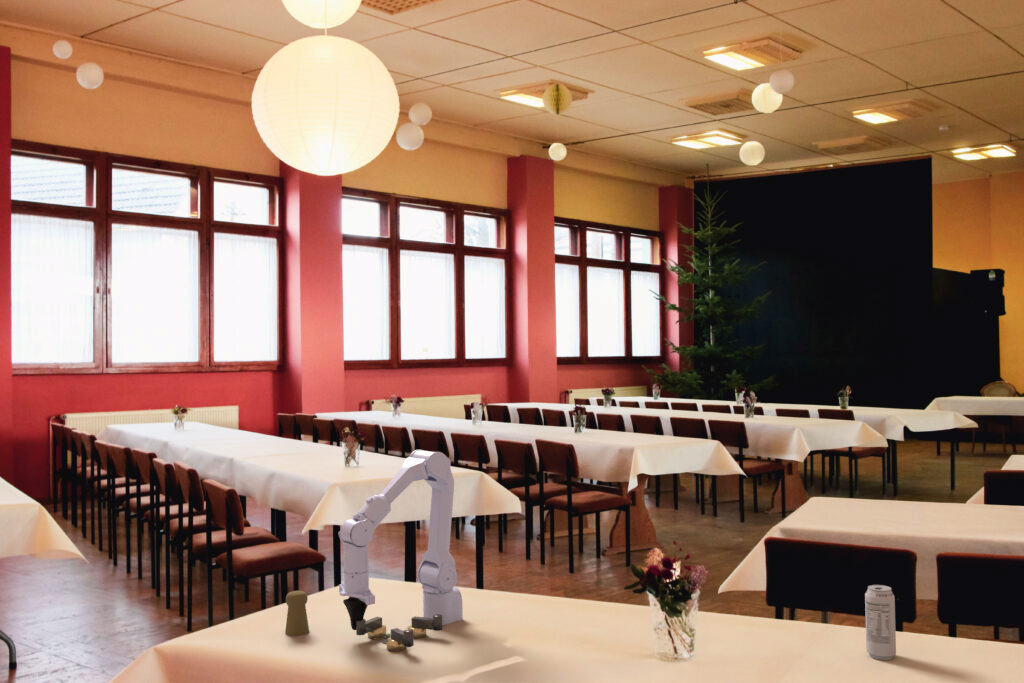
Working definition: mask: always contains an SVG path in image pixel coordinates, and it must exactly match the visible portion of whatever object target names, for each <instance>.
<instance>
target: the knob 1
mask: <svg viewBox="0 0 1024 683" xmlns="http://www.w3.org/2000/svg"><path fill="white" fill-rule="evenodd" d="M366 634H367V638H369V639H381V638H382V637H384V636H386V635H387V626H386V625H385V624H383V617H381V616H375V617H373V618H369V619H367V620H366V619H365V618H363V619H357V620H356V630H355V635H356V636H364V635H366Z"/></svg>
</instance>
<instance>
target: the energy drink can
mask: <svg viewBox="0 0 1024 683" xmlns="http://www.w3.org/2000/svg"><path fill="white" fill-rule="evenodd" d="M895 600H896V599H895V595H894V593H893V591H892V587H890V586H887V585H884V584H872V585H871V584H870V585H868V586H867V590H866V591H865V593H864V604H865V608H864V611H865V642H866V643H865V646H866V648H865V650H866V653H868V656H869V657H870V658H872V659H875V660H878V661H879V660H880V661H889V660H892V659H894V656H896V654H897V640H896V635H897V634H896V605H895V604H896V602H895Z"/></svg>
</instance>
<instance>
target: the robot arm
mask: <svg viewBox="0 0 1024 683" xmlns="http://www.w3.org/2000/svg"><path fill="white" fill-rule="evenodd" d="M451 464H452V463H451V459H449V457H448V456H447V455H446V454H444V453H443V452H441V451H429V450H424V449H421V448H420V449H415V450H413V451H412V452H411V453H410V455H409V456H408V457H406V458H405V459H404V462H403V464H402V466H401V468H400V469H399V470H398V471H397V473H396V474H395V475H394V476H393V478H392V479H391V480H390V482H389V483H388V484H387V485H386V486H385V488H384V489H383V490H382V491H381V493H380V494H374V495H373V494H372V496H368V497H367V498H366V499H365V503H364V505H363V506H362V507H361V508H360V509H359V510H358V511H357V512H355V513H354V514H353V515H352V518H349V519H347V520H345V521H344V522H343V523H342V524H341V526H340V527H341V528H340V531H338V533H337V534H338V537H339V539H340V541H341V542H342V544H343V546H342V547H343V581H344V582H343V583H340V584H338V590H339V591H338V592H339V595H340V596H342V597H348V598H345V599H343V602H342V603H343V605H344V606H345V608H346V611H347V613H348V614H349V621H350V627H351V629H352V630H353V631H356V620H357V619H364V616H365V613H366V610H367V608H368V606H371V605H375V604H376V595H375V594H373V593H372V590H371V588H370V582H369V581H370V576H369V574H370V571H369V568H370V567H369V543H371V542H372V540H373V537H374V532H375V530H376V528H377V527H378V526H379V525H380V524H381V523H382V522H383V521H384V519H385V518H386V517H387V516H388V515H389V513H390V512H391V511H392V509H391V508H392V507H391V506H392V503H393V502H394V501H395V500H396V499H397V498H398V497H399V496H400V495H401V494H403V492H405V490H406V489H407V488H408V487H409V486H410V485H412V483H413V482H417V481H423V480H424V481H425V483H427V484H428V485H429V486H430V487H431V498H430V499H431V500H430V513H429V524H428V525H429V527H428V541H427V550H426V551H425V552H424V553H423V554H422V556H421V560H420V561H421V562H420V565H419V566H418V569H417V571H416V572H417V573H416V575H417V580H418V582H419V583H420V584H421V589H422V594H423V595H422V599H423V600H422V602H423V605H422V608H423V612H422V613H423V617H425V618H433V615H436V614H440V615H442V626H444V625H446V626H447V625H448V624H451V623H454V622H455V623H456V622H459V621H463V619H464V618H463V614H464V613H463V595H462V593H461V591H460V589H459V588H458V587H456V584H457V583H458V573H457V570H456V560H455V559H454V557H453V556H452V554H451V552H450V547H451V533H452V520H453V519H452V518H453V507H454V506H453V505H454V504H453V503H454V492H455V491H454V490H455V489H454V488H455V478H454V476H453V473H452V469H451V466H452V465H451Z"/></svg>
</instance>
